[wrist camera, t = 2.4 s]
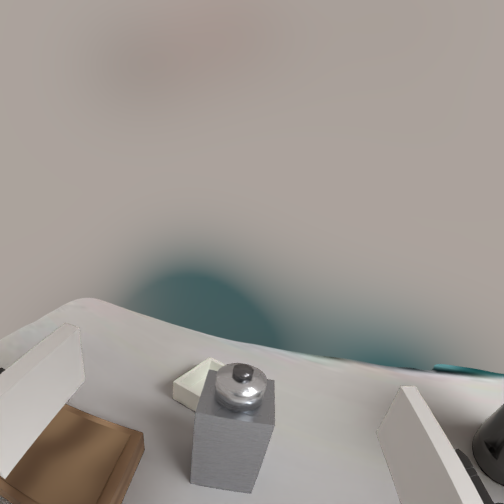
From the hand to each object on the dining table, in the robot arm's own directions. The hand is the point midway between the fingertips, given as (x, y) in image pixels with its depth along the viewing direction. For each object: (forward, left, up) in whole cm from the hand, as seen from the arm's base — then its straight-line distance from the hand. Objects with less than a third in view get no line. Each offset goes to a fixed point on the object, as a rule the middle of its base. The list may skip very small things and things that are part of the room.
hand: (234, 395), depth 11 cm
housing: (-8, -7, -20) cm, 23 cm away
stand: (+8, -13, -20) cm, 25 cm away
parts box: (-14, -18, -20) cm, 31 cm away
